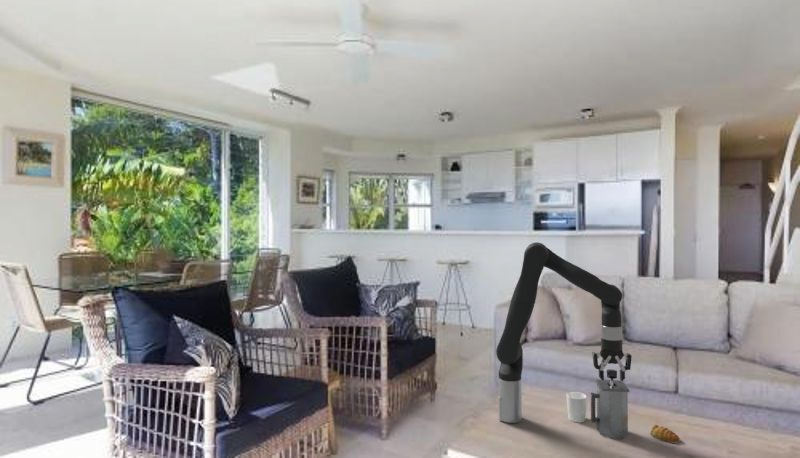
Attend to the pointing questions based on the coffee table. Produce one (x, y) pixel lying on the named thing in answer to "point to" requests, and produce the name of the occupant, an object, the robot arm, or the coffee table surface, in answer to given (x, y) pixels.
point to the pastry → (664, 434)
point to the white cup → (576, 406)
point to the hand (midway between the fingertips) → (611, 379)
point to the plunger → (611, 375)
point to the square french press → (611, 409)
